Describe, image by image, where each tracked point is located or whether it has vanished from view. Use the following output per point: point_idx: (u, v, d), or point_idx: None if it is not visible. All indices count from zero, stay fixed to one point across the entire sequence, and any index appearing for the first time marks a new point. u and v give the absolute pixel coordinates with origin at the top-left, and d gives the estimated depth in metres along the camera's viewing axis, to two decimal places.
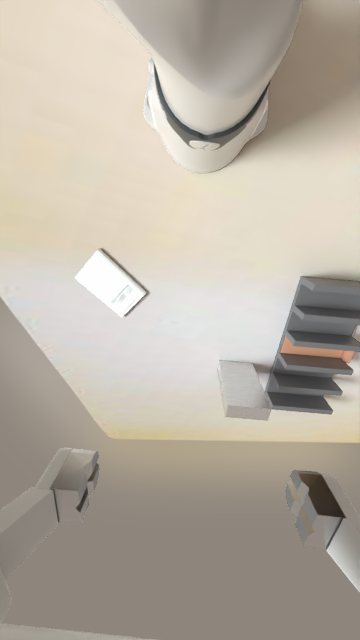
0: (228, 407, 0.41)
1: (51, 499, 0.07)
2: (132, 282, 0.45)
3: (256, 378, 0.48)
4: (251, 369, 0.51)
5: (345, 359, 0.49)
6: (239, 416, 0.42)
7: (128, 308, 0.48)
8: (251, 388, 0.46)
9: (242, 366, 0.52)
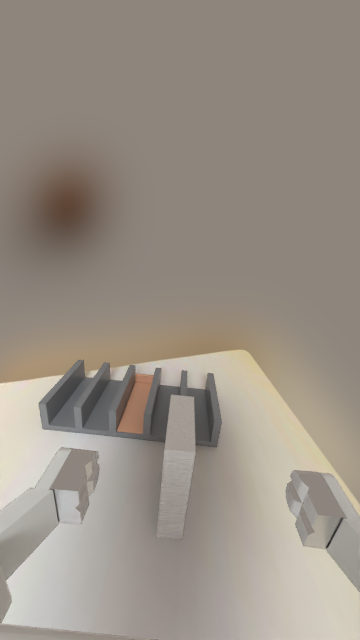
0: (170, 448, 0.22)
1: (51, 499, 0.07)
2: None
3: None
4: None
5: (152, 379, 0.51)
6: (191, 430, 0.24)
7: None
8: None
9: None
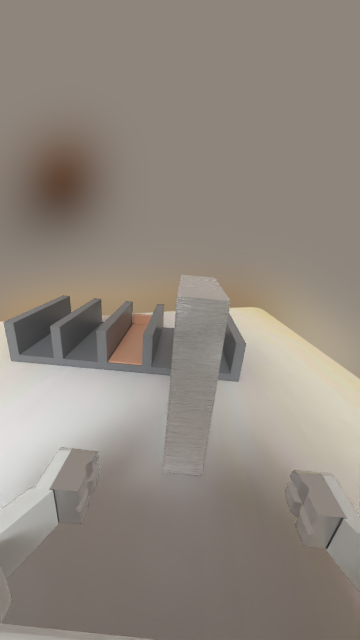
0: (187, 296, 0.13)
1: (51, 499, 0.07)
2: None
3: None
4: None
5: None
6: (217, 290, 0.15)
7: None
8: None
9: None
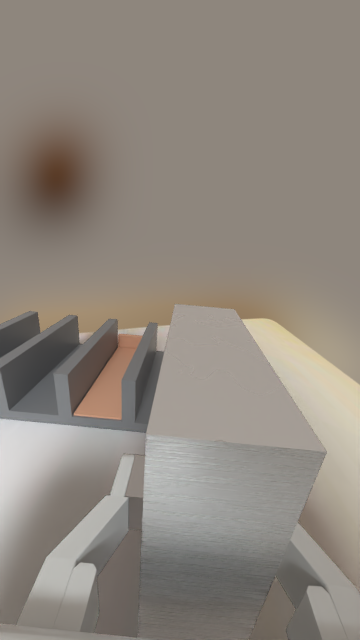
0: (180, 430, 0.04)
1: (126, 507, 0.07)
2: None
3: None
4: None
5: None
6: (257, 366, 0.06)
7: None
8: None
9: None
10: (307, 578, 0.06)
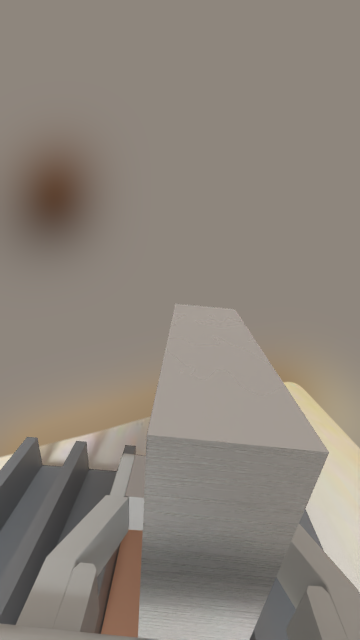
0: (181, 430, 0.04)
1: (126, 507, 0.07)
2: None
3: None
4: None
5: None
6: (258, 366, 0.06)
7: None
8: None
9: None
10: (307, 578, 0.06)
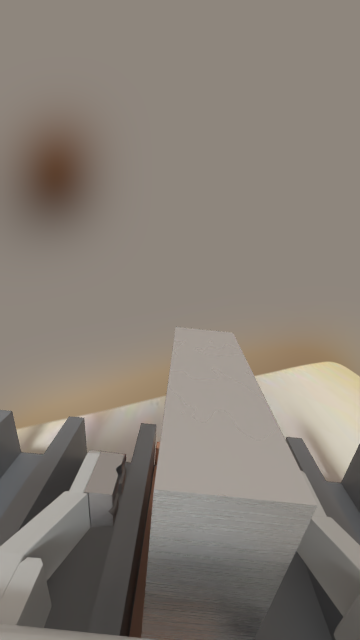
0: (185, 483, 0.04)
1: (85, 503, 0.07)
2: None
3: None
4: None
5: None
6: (255, 404, 0.07)
7: None
8: None
9: None
10: (356, 583, 0.06)
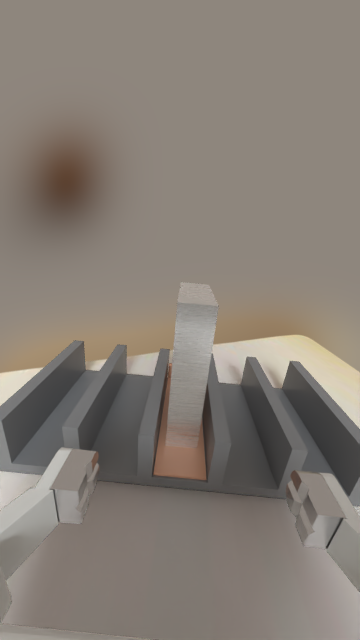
0: (185, 302, 0.16)
1: (51, 499, 0.07)
2: None
3: None
4: None
5: None
6: (209, 296, 0.19)
7: None
8: None
9: None
10: None
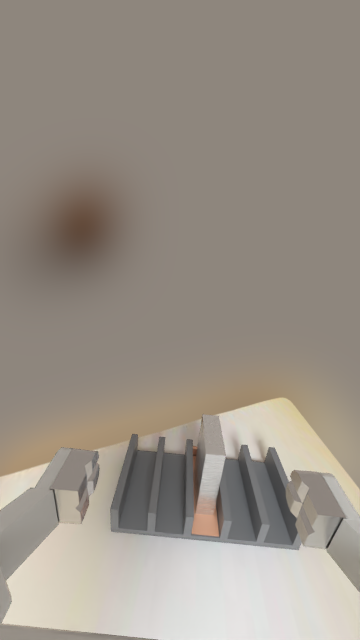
0: (209, 453, 0.34)
1: (51, 499, 0.07)
2: None
3: (197, 450, 0.43)
4: (195, 463, 0.44)
5: None
6: (220, 440, 0.36)
7: None
8: (199, 446, 0.40)
9: (195, 476, 0.43)
10: None
